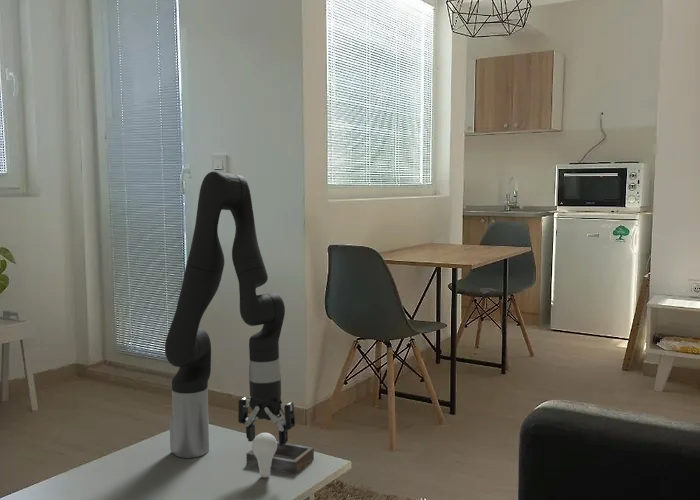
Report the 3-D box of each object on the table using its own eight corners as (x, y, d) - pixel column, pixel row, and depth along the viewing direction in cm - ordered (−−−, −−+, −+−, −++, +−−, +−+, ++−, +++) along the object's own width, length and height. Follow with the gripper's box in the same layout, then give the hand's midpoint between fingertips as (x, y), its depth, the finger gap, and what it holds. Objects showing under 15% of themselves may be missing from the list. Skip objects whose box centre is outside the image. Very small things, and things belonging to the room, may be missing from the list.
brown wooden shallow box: (246, 464, 173) (246, 453, 172) (266, 450, 182) (266, 439, 181) (295, 474, 167) (295, 462, 167) (313, 458, 176) (313, 447, 176)
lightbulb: (273, 483, 162) (272, 439, 161) (248, 481, 163) (248, 437, 162) (280, 473, 168) (280, 429, 167) (257, 471, 169) (256, 428, 168)
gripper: (230, 378, 162) (233, 444, 164) (284, 384, 157) (286, 452, 159) (247, 370, 169) (249, 433, 171) (298, 375, 164) (300, 440, 165)
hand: (267, 442), depth 165 cm, fingers open, 8 cm apart
